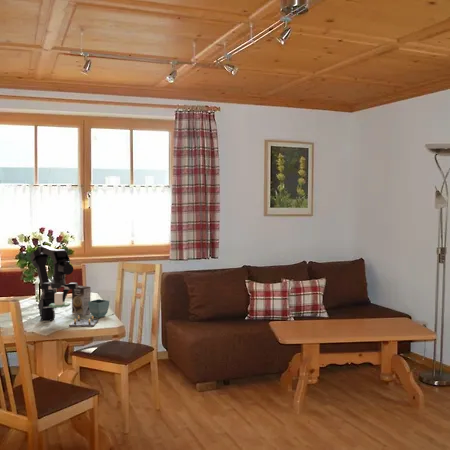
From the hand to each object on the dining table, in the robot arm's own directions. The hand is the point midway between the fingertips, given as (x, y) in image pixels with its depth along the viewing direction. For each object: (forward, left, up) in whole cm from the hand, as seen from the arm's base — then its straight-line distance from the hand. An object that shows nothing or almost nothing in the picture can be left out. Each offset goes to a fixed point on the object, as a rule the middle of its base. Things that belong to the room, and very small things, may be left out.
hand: (59, 301), depth 298 cm
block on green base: (0, 0, -2) cm, 2 cm away
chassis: (+13, 0, -12) cm, 18 cm away
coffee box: (+5, +27, -12) cm, 30 cm away
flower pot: (+17, +19, -12) cm, 28 cm away
